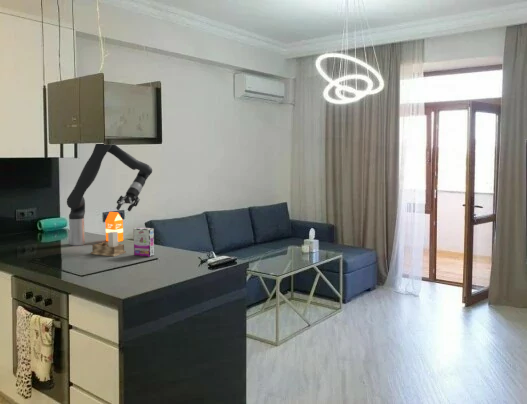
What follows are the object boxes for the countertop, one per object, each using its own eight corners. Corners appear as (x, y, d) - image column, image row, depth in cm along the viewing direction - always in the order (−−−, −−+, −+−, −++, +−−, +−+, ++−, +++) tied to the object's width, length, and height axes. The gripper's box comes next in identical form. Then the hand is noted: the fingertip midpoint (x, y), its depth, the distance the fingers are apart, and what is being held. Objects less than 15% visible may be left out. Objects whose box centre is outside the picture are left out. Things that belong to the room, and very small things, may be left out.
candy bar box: (154, 255, 287) (154, 228, 285) (150, 257, 282) (149, 229, 280) (138, 253, 291) (137, 227, 289) (133, 255, 286) (133, 228, 284)
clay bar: (108, 252, 288) (108, 232, 287) (113, 250, 293) (113, 231, 291) (113, 252, 287) (112, 233, 286) (118, 251, 291) (117, 231, 290)
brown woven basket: (90, 253, 289) (90, 245, 289) (103, 250, 300) (103, 242, 299) (113, 256, 283) (113, 247, 282) (125, 252, 293) (125, 244, 293)
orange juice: (114, 242, 326) (113, 213, 323) (105, 241, 330) (104, 212, 328) (123, 240, 332) (122, 211, 330) (114, 239, 337) (114, 211, 335)
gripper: (122, 186, 311) (110, 205, 301) (141, 187, 305) (129, 207, 296) (128, 193, 316) (116, 212, 307) (146, 195, 311) (134, 214, 302)
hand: (122, 210), depth 302 cm, fingers open, 8 cm apart
